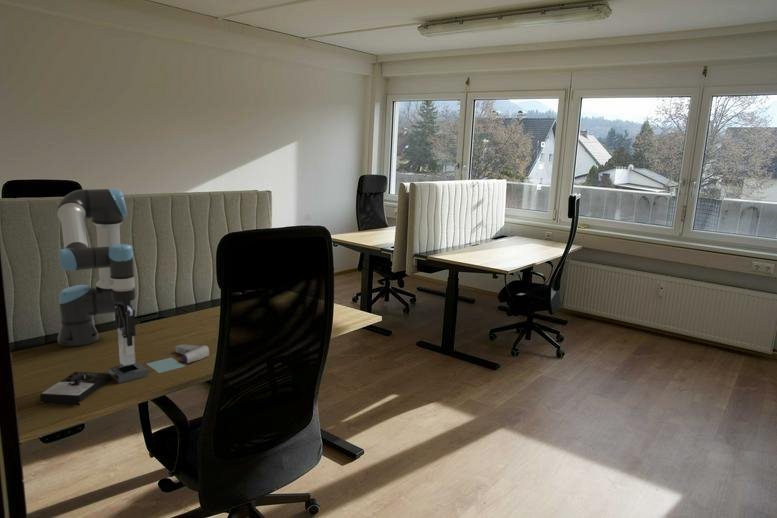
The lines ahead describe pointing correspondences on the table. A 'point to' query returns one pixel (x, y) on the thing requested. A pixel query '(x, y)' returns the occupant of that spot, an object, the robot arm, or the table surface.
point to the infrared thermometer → (192, 352)
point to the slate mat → (165, 365)
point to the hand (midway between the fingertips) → (126, 351)
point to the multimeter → (74, 388)
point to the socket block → (128, 372)
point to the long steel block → (124, 358)
